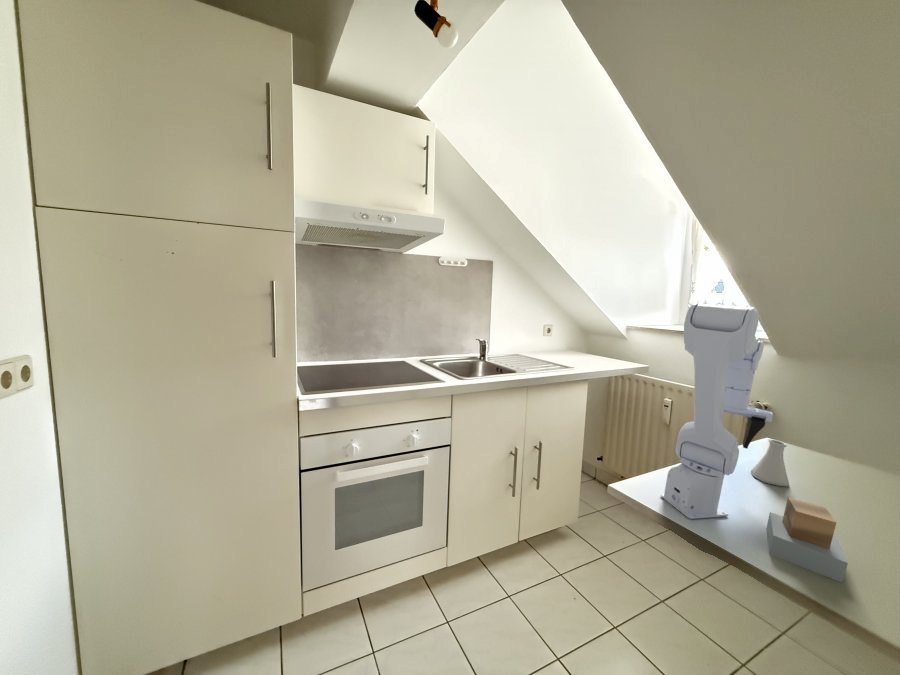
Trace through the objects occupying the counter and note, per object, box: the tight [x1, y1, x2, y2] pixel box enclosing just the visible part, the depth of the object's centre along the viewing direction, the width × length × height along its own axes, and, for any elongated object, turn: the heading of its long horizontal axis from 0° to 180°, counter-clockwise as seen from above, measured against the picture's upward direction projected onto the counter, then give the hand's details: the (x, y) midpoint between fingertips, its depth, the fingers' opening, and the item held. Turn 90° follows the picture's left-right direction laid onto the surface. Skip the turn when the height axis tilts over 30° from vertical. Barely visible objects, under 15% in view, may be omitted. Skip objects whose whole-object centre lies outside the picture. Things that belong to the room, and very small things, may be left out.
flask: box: [750, 439, 790, 487], centre depth 89 cm, size 7×7×10 cm
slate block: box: [765, 511, 849, 583], centre depth 64 cm, size 9×9×4 cm
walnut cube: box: [782, 496, 837, 549], centre depth 63 cm, size 5×5×5 cm
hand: (724, 441), depth 85 cm, fingers open, 7 cm apart
